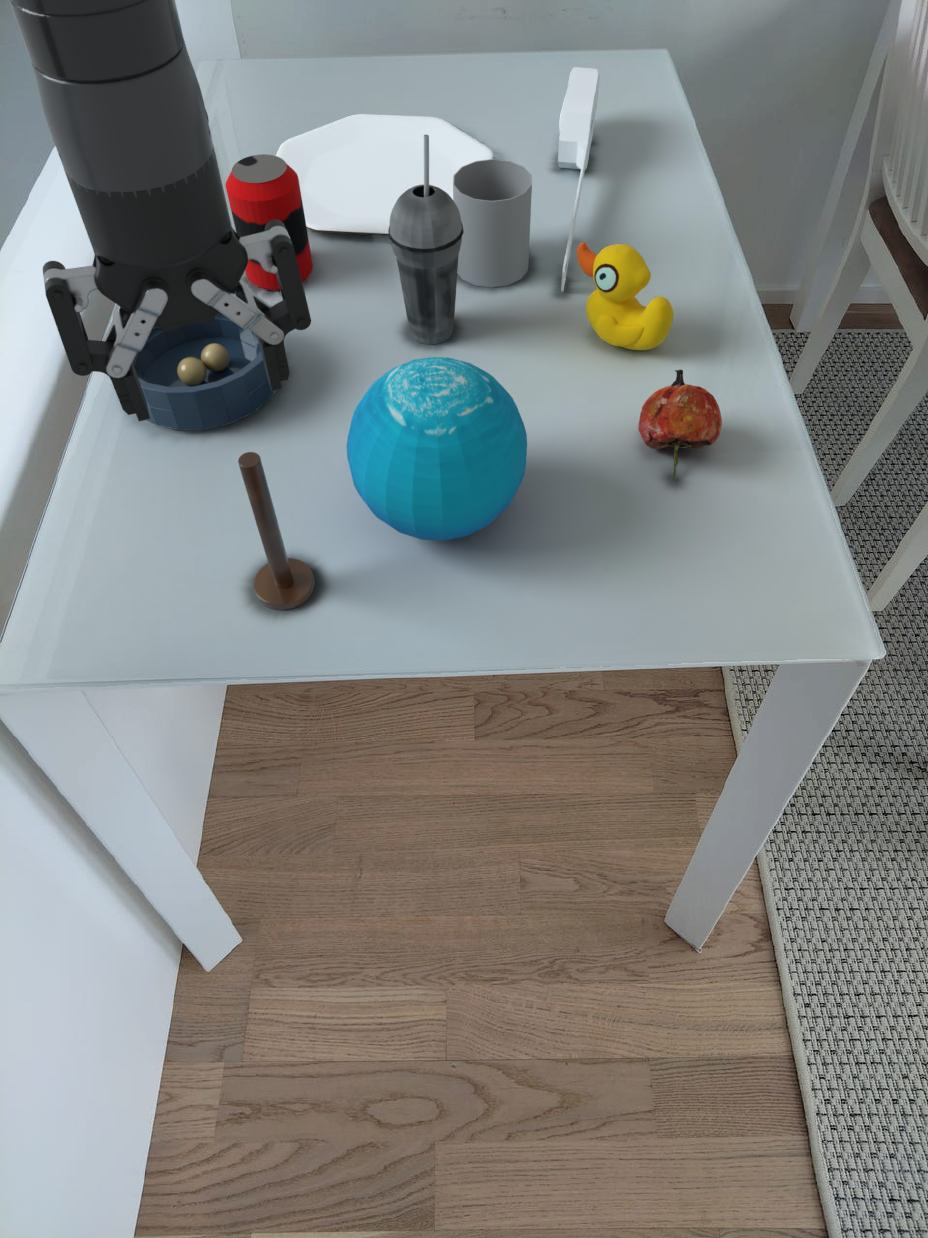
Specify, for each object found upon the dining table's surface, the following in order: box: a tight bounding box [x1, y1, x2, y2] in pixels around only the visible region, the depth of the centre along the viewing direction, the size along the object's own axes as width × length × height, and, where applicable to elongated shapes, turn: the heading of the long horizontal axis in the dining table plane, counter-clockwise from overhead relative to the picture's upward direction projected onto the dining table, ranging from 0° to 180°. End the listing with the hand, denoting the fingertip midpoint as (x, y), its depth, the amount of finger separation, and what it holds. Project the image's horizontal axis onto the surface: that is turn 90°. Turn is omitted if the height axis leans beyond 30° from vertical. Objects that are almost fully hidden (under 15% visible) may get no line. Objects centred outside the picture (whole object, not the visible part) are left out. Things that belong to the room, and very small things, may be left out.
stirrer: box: [237, 451, 316, 611], centre depth 72 cm, size 5×5×15 cm
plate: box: [275, 113, 494, 237], centre depth 115 cm, size 28×28×2 cm
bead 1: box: [177, 357, 207, 386], centre depth 91 cm, size 3×3×3 cm
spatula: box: [557, 66, 601, 293], centre depth 110 cm, size 38×8×4 cm
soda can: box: [224, 154, 314, 292], centre depth 99 cm, size 8×8×12 cm
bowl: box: [133, 313, 275, 431], centre depth 91 cm, size 16×16×5 cm
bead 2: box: [201, 343, 230, 372], centre depth 93 cm, size 3×3×3 cm
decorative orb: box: [346, 356, 528, 541], centre depth 76 cm, size 15×15×15 cm
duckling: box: [576, 241, 674, 351], centre depth 92 cm, size 11×5×10 cm, turn 51°
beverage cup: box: [388, 135, 464, 345], centre depth 90 cm, size 7×7×20 cm
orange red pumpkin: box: [637, 368, 723, 481], centre depth 84 cm, size 7×7×10 cm
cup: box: [453, 158, 533, 289], centre depth 100 cm, size 8×8×10 cm
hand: (210, 397), depth 60 cm, fingers open, 8 cm apart
